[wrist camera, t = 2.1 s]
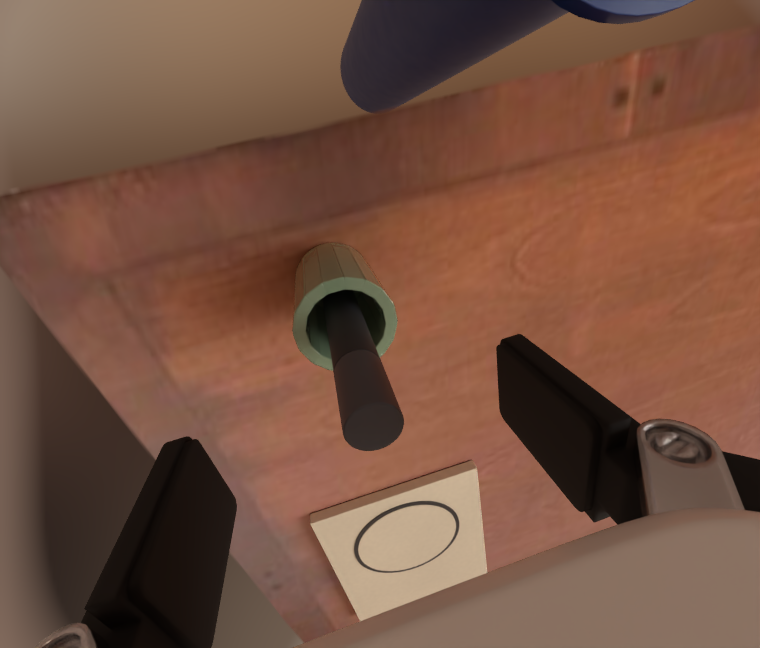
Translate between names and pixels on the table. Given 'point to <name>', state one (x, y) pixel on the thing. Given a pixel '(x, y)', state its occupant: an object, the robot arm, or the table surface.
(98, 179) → the table surface
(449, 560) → the drawing board
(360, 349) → the marker
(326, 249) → the pen cup
